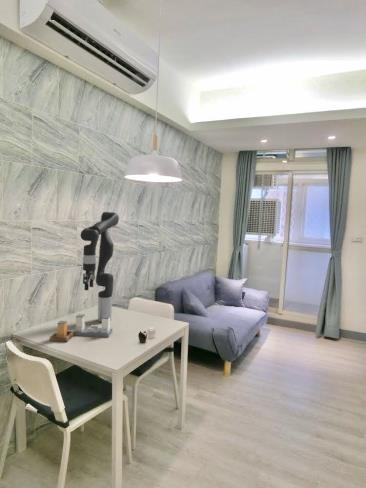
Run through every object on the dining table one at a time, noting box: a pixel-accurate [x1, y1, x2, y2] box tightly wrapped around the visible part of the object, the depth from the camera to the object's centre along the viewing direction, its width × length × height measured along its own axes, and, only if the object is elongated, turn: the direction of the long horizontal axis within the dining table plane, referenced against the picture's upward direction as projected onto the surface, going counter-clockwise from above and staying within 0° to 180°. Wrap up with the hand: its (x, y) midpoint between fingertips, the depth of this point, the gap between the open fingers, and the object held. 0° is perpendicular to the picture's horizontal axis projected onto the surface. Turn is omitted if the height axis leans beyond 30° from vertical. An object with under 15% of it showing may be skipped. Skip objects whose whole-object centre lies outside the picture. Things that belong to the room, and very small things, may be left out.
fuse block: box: [73, 313, 113, 338], centre depth 198 cm, size 9×22×11 cm, turn 88°
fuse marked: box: [57, 320, 68, 337], centre depth 189 cm, size 4×4×9 cm
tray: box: [49, 330, 75, 343], centre depth 189 cm, size 10×10×2 cm
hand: (88, 288), depth 196 cm, fingers open, 8 cm apart
